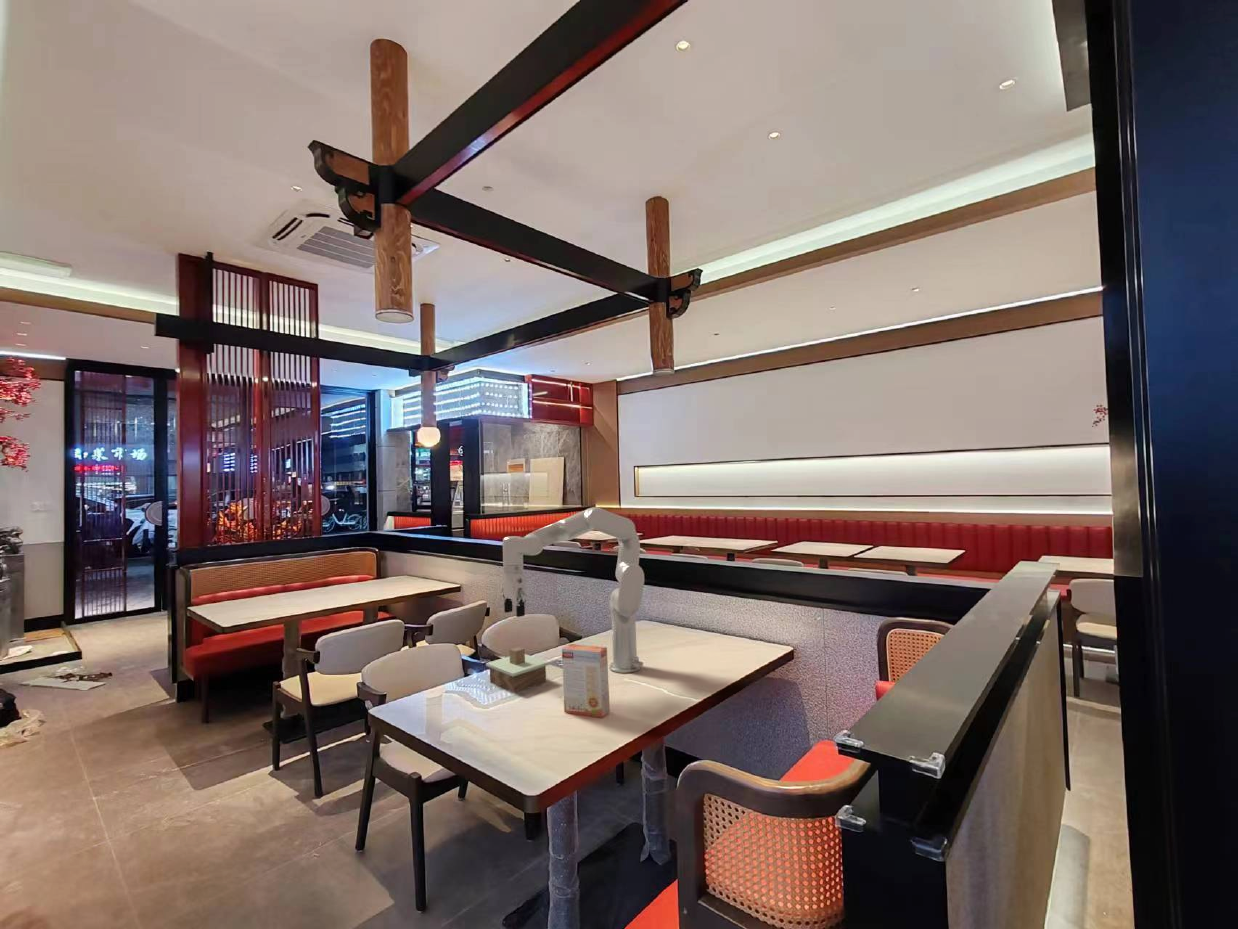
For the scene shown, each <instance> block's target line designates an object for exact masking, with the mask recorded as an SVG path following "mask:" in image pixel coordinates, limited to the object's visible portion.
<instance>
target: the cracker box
mask: <svg viewBox="0 0 1238 929" xmlns="http://www.w3.org/2000/svg"><path fill="white" fill-rule="evenodd" d="M561 652H562V653H561V654H562V656H561V659H562V662H563V669H562V682H563V683H562V684H563V685H562V686H563V709H564V710H563V711H564V713H565V712H566V714H574V715H580V716H587V717H593V718H594V717H595V718H599V719H603V718H604V717H605V716H606V715H607V714H608V713H609V712H610V710H611V709H610V690H609V688H610V687H609V684H610V683H609V664H608V647H607V646H596V645H585V644H577V643H576V644H575V643H570V644H568V645H566V646H565V647H563V648H561Z"/></svg>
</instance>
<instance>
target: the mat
mask: <svg viewBox="0 0 1238 929" xmlns="http://www.w3.org/2000/svg"><path fill="white" fill-rule="evenodd" d="M548 662H549V666H550V665H551V666H553V667H557V668H559V669H562V670H563V665H559V664H563V662H562V661H561V660H558V659H555V660H552V661H548ZM557 662H558V663H557ZM561 662H562V663H561Z"/></svg>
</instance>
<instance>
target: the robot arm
mask: <svg viewBox="0 0 1238 929" xmlns="http://www.w3.org/2000/svg"><path fill="white" fill-rule="evenodd" d="M591 531H597V532H601V533H603V534H605V535H608V536H612V537H614V538H616V540H617V542H618V554H617V562H616V568H615V572H614V573H615V578H616V580H617V581H618V582H619V587H616V588H615V589H613V591H612V592H611V593H610V596H609V607H610V608H609V609H610V616H611V617H610V618H611V633H612V636H611V638H612V639H611V640H612V660H613V661H612V662H611V663H610V664H609V669H610V671H612V672H614V673H620V674H621V673H623V674H627V673H635V672H636V671H640V669H641V668H642V666H643V665H644V662H643V661H640V657H639V656H638V652H637V630H636V629H637V628H636V627H637V624H636V623H637V622H636V615H638V612H640V609H641V606H642V602H643V601H642V600H643V594H644V585H645V573H644V570H643V568H642V567H641V566H640V565H639V564H640V552H641V551H640V550H641V542H640V538H639V535H638V533H637V531H636V525H635V523H634V522H633V521H632V520H631V519H630V518H628V517H624V516H622V515H618V514H616V513H613V512H611V511H608V510H606V509H604V508H602V507H597V506H593V507H589V508H586V509H585V510H582V511H580V512H578V513H575V514H573V515H571V516H568V517H566V518H563V519H560V520H559V521H557V522H554V523H552V524H549V525H547V526H544V527H541V528H539V529H537V530H534V531H532V532H530V533H528V534H526V535H525V536H523V537H522V536H519V535H518V536H517V535H514V536H513V535H512V536H511V535H510V536H505V537H504V538H503V539H502V565H503V566H502V567H503V568H502V571H503V588H502V594H503V595H502V597H503V602H504V603H503V605H504V607H503V608H504V609H503V610H504V613H511V612H513V611H514V610H513V601H515V603H516V605H515V609H516V611H515V612H516V614H515V616H516V617H517V618H519V617H525V614H526V611H525V610H526V609H525V606H526V601H527V600H526V599H527V590H526V589H527V587H526V579H525V575H524V556H537V555H539V554H541V552H543V549H544V548H545V547H548V546H550V545H554V544H556V543H559V542H567V541H571V540H573V539H576V538H578V537H580V536H583V535H585V534H587V533H589V532H591Z"/></svg>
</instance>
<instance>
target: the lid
mask: <svg viewBox="0 0 1238 929" xmlns="http://www.w3.org/2000/svg"><path fill="white" fill-rule="evenodd" d="M508 650H509V656H506V657H502V658H500V659H495V660H493V661H489V662H486V663H485V666H486V667H488V668H489V669H490V668H493V669H495V670H498V671H500V672H503V673H505V674H508V675H510V676H516V675H519V674H522V673H525V672H528V671H532V670H535V669H538V668H541V667H544V666H546V667H547V666H550V664H549V662H550V661H548V660H544V659H541V658H539V657H536V656H532V655H531V654H526V652H525V648H524V647H520V646H517V647H513V648H510V649H508Z"/></svg>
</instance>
